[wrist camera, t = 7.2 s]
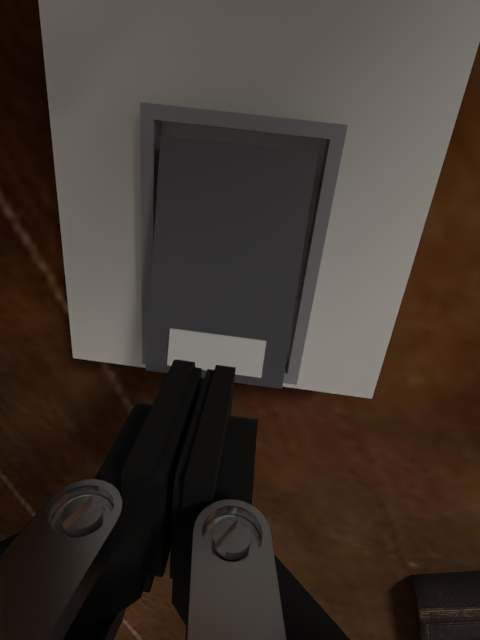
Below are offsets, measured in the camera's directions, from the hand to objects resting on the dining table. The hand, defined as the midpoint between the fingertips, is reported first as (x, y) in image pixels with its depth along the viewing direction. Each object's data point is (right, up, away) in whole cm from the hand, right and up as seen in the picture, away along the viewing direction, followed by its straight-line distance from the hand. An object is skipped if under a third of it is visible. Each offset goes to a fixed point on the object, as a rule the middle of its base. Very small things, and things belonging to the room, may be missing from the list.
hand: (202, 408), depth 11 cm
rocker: (+1, +4, +1) cm, 4 cm away
